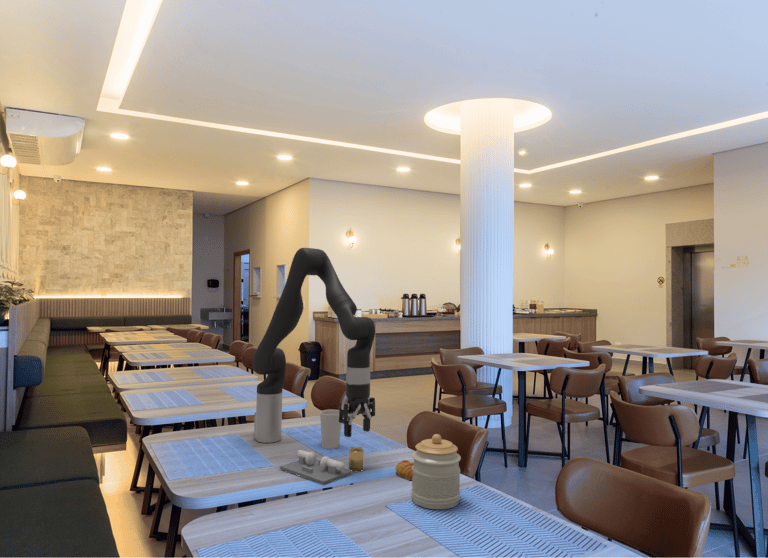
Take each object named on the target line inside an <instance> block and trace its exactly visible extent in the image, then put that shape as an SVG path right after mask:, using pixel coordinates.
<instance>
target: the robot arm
mask: <svg viewBox="0 0 768 558" xmlns="http://www.w3.org/2000/svg"><path fill="white" fill-rule="evenodd" d="M307 276H316V277H318V278H319V279H320V280H321V281H322V282H323V285H324V286H325V299H326V301H327V303H328V305H329V307H330V309H331V310H332V311H333V313H334V314H335V315H336V318H337V320H338V324H339V327H340V331H341V333H342V335H343V336H344V337H345V338H346V339H348V340H349V341H356V342H355V343H356V344H355V345H354V346H352V347H350V348H349V349H348V350H347V356H346V357H347V359H346V362H347V363H346V373H345V396H346V398H347V402H340V403H339V409H338V410H339V423H341V424H343V434H344V436H345V437H347V438H351V437H352V432H353V431H352V429H353V428H352V426H353V425H352V423H353V420H354V419H356V417H357V416H359V415H362V417H363V419H362V430H363V432H367V433H369V432H370V430H371V420H372V417H375V416H376V398H375V397H372V396H371V368H370V365H371V364H370V360H371V356H370V355H371V351H372V348H373V344H374V339H375V336H376V335H375V334H376V325H375V323H374V321H373V319H372V318H371V317H367V316H359V317H358V316H357V317H356V316H355V315H356V314H357V310H358V307H357V305H356V303H355V302H354V300H353V298H351V296H350V295H349V293H348V292H347V291H346V289H345V288H344V286H343V284H342V283H341V281H340V278H339V276H338V274H337V272H336V270H335V268H334V265H333V264H332V262H331V259H330V257H329V256H328V254H327V253H326V251H324V250H322V249H320V248H312V247H301V248H298V250H297V251H296V252H295V254H294V256H293V258H292V261H291V264H290V268H289V271H288V274H287V279H286V281H285V284H284V287H283V290H282V293H281V295H280V297H279V298H278V299H279V300H278V301H277V304H276V306H275V309H274V310H273V314H272V316H271V320H270V322H269V324H268V327H267V328H266V331H265V333H264V335H263V337H262V338H261V341H260V342H259V344H258V346H257V348H256V350H255V351H254V354H253V358H252V363H251V364H252V369H253V371H254V373H255V374H257V375H259V376H260V375H267V377H266V378H265V379H264V380H263V381H261V382H259V383H258V384H257V386H256V404H255V405H256V407H255V410H256V411H255V412H254V419H253V420H254V421H253V423H254V424H253V439H255V441H256V442H257V443H263V444H264V443H265V444H266V443H267V444H268V443H269V444H270V443H276V442H279V441H281V440H282V424H283V423H282V421H283V418H282V417H283V388H284V385H285V381H286V380H285V379H286V368H287V358H286V354H285V351H284V350H283V349H281V348H280V347H278V346H279V345H280V343H281V342H282V341H284V340H285V339H286V338H287V337H288V336H289V335H290V334H291V333H292V332H293V331H294V330H295V329H296V327H297V326H298V323H299V322H300V319H301V317H302V315H303V312H304V300H303V296H302V287H303V284H304V281H305V279H306V277H307Z"/></svg>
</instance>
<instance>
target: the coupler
mask: <svg viewBox="0 0 768 558" xmlns="http://www.w3.org/2000/svg"><path fill="white" fill-rule="evenodd" d="M364 452H365V451H364V449H363V447H362V446H357V447H356V446H351V447H350V449H349V453H348V454H349V457H348V459H349V460H348V470H349V469H350V470H352V471H360V472H362V471H361V470H363V471H364V455H365V454H364Z"/></svg>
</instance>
